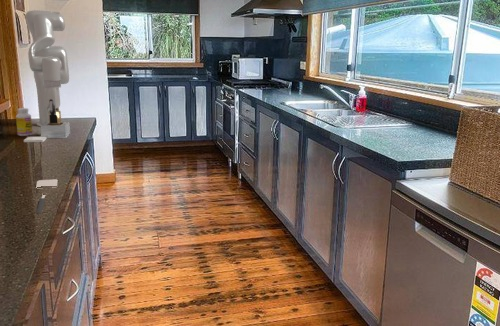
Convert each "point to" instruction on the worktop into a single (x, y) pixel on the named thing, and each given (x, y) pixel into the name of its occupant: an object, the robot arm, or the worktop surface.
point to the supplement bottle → (23, 122)
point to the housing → (55, 130)
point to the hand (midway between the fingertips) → (55, 121)
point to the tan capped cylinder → (57, 118)
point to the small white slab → (41, 201)
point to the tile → (35, 139)
